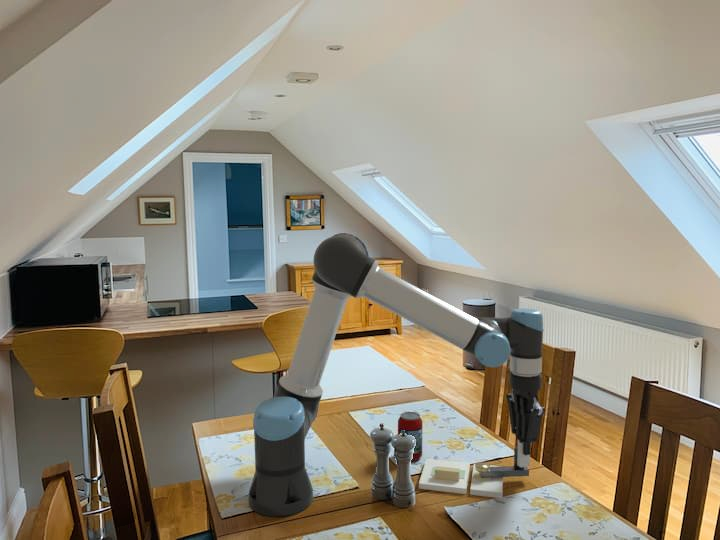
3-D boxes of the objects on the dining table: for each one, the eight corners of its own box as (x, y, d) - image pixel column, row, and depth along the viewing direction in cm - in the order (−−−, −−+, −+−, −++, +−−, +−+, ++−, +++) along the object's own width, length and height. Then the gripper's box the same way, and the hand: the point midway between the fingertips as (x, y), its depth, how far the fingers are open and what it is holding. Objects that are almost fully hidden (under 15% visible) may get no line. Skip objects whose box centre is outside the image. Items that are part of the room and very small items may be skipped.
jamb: (502, 498, 137) (502, 491, 137) (470, 494, 139) (470, 487, 139) (502, 471, 151) (503, 465, 150) (473, 468, 152) (473, 462, 152)
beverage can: (402, 463, 155) (402, 421, 154) (394, 453, 162) (394, 412, 160) (426, 460, 157) (426, 418, 156) (417, 450, 164) (417, 409, 162)
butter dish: (466, 494, 139) (466, 479, 139) (418, 488, 142) (418, 473, 142) (469, 468, 153) (470, 454, 152) (426, 463, 155) (426, 450, 155)
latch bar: (477, 479, 143) (477, 453, 142) (473, 472, 146) (473, 447, 146) (529, 477, 144) (530, 451, 143) (524, 470, 147) (525, 445, 146)
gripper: (555, 378, 136) (552, 474, 138) (523, 364, 148) (520, 453, 150) (528, 381, 133) (526, 479, 136) (497, 367, 145) (496, 457, 148)
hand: (523, 465), depth 143 cm, fingers closed
